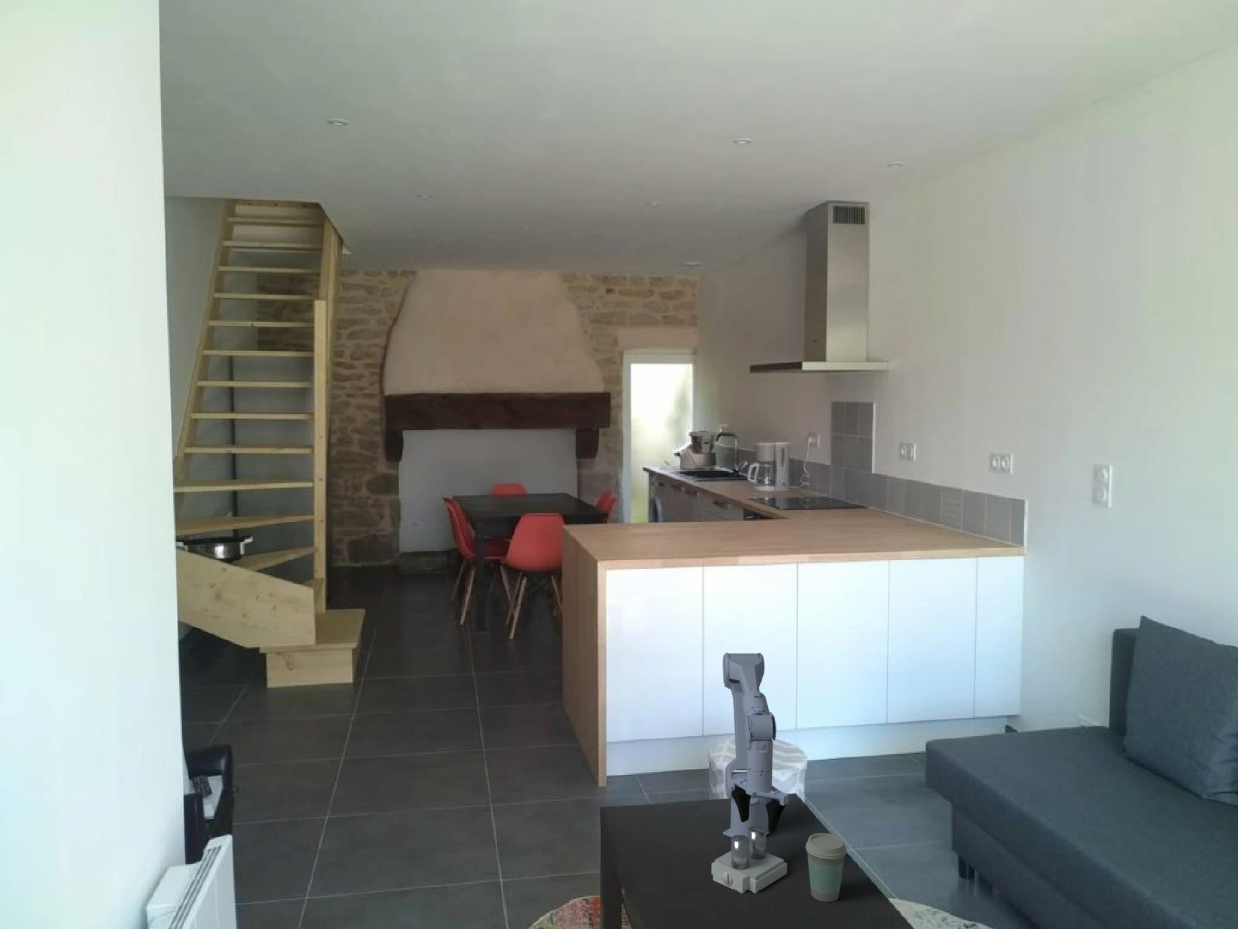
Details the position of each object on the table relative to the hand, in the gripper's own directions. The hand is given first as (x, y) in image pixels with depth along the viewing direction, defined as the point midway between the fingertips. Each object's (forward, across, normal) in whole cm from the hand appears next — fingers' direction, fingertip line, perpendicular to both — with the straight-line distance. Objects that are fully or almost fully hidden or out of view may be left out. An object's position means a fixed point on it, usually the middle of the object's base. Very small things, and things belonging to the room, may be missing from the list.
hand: (758, 826), depth 211 cm
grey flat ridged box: (+10, 0, -4) cm, 11 cm away
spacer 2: (+7, 0, 0) cm, 7 cm away
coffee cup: (+10, +17, +1) cm, 20 cm away
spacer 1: (+7, 0, -7) cm, 10 cm away
